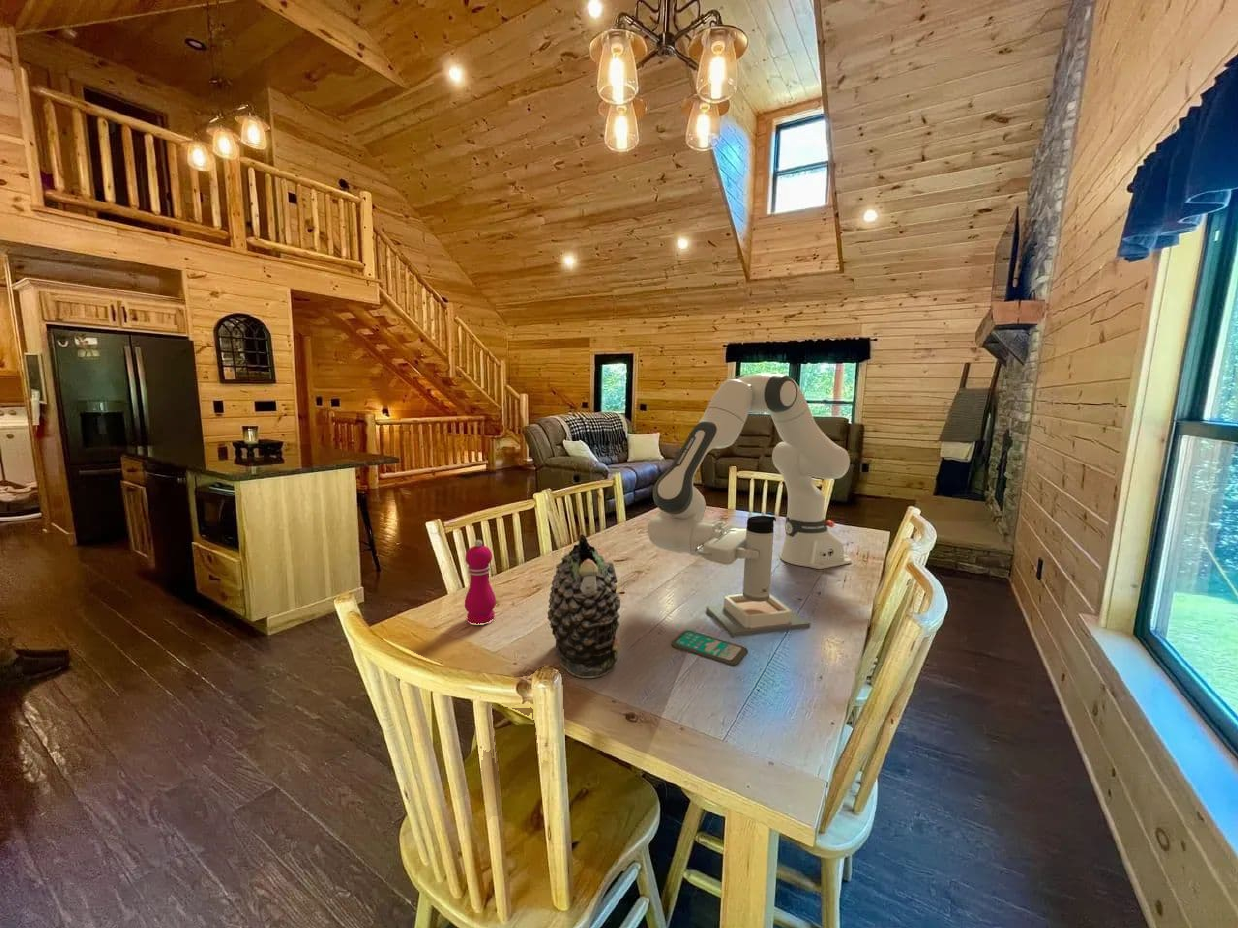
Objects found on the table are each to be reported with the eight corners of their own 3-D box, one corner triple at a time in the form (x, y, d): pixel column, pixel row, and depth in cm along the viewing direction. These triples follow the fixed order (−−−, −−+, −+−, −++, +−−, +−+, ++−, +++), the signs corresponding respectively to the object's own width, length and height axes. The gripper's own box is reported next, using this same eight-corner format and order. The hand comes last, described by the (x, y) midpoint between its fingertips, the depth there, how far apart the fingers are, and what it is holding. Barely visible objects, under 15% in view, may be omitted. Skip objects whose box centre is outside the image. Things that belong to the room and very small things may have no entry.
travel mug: (771, 603, 116) (777, 520, 113) (742, 600, 118) (747, 518, 115) (769, 592, 122) (774, 514, 119) (742, 590, 124) (746, 512, 121)
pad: (763, 604, 126) (763, 598, 126) (783, 620, 117) (783, 614, 117) (731, 608, 124) (731, 602, 123) (749, 624, 115) (749, 618, 115)
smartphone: (735, 665, 99) (669, 643, 107) (735, 669, 99) (669, 647, 107) (750, 647, 106) (686, 628, 114) (749, 651, 106) (686, 632, 115)
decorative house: (634, 678, 96) (636, 554, 92) (557, 690, 91) (555, 561, 88) (606, 628, 115) (607, 524, 112) (542, 637, 111) (540, 529, 107)
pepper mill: (502, 616, 121) (500, 537, 118) (485, 629, 114) (482, 546, 111) (477, 611, 123) (474, 534, 120) (459, 624, 117) (455, 542, 114)
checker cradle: (776, 602, 130) (777, 588, 129) (809, 627, 116) (810, 611, 116) (706, 610, 125) (706, 595, 124) (732, 637, 112) (733, 620, 111)
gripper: (692, 538, 115) (751, 549, 108) (721, 519, 133) (774, 527, 126) (691, 564, 116) (750, 576, 109) (720, 542, 134) (772, 551, 127)
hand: (763, 550), depth 118 cm, fingers closed on travel mug, 6 cm apart
